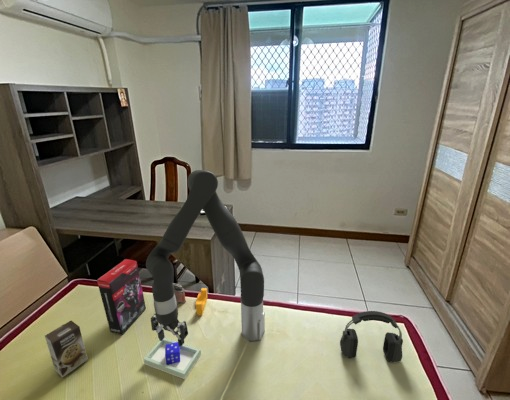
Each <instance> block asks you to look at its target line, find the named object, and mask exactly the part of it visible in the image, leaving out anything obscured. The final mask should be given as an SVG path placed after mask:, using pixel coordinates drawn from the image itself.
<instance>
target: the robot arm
mask: <svg viewBox="0 0 510 400" xmlns="http://www.w3.org/2000/svg"><path fill="white" fill-rule="evenodd" d="M186 182H187V188H188V189H189V193H188V196H187V198H186V199H185V201H184V203H183V205H182V207H181V208H180V209H179V211H178V212H177V214H175V216H174V218H173V219H172V220H171V221H170V223H169V225H168V226H167V228H166V230H165V232H164V233H163V235H162V238H161V240H160V241H159V242H158V243H157V244H156V245H155V246H154V248H153V249H152V250H151V251H150V253H149V254H148V256H147V257H146V261H145V267H146V269H147V271H148V273H150V275H151V276H152V279H153V283H152V285H151V291H152V297H153V307H154V314H153V315H152V316H150V324H151V325H150V326H151V330H152V331H155V333H157V338H158V339H159V341H162V340H163V339H164V338H166V337H165V332H164V331H168V332H170V333H171V334H172V335H173V336H175V337H176V338H177V342H178V345H179V346H180V347H181V346H182V345H183V344H185V339H186V337H187V336H188V335H189V329H188V325H187V322H186V320H183V322H180V320H179V319H178V316H179V312H178V311H179V309H178V303H177V302H176V297H175V293H174V287H173V283H174V279H175V278H174V277H175V270H174V265H173V263H172V262H171V260H170V259H169V257H170V256H171V255H172V253H173V254H174V253H175V254H176V253H178V252H179V251H180V249H181V248H182V246H183V245H184V242H185V241H186V239H187V236H188V234H189V233H190V231H191V228H192V227H193V225H194V223H195V222H196V221H197V219H198V217H199V215H200V214H201V212H202V210H203V212H204V214H205V216H206V219H207V220H208V222H209V225H210V226H211V228H212V230H213V232H214V234H215V236H216V238H217V239H218V241H219V243H220V244H221V245H222V247H223V248H224V249H225V250H226V251H227V252H228V253H229V254H230V255H231V256H232V257H233V259H234V261H235V263H236V266H237V268H238V271H239V278H240V279H239V280H240V317H241V320H240V321H241V334H242V338H244V339H246V341H249V342H250V341H251V342H255V341H261V340H262V338H263V335H264V333H265V331H266V330H265V328H266V327H265V326H266V324H265V323H266V321H265V320H266V319H265V316H266V315H265V312H264V296H265V277H264V273H263V272H264V271H263V268H262V266H261V264H260V263H259V262H258V259H256V256H255V255H254V254H253V253H252V251H251V249H250V247H249V245H248V243H247V239H246V238H245V235H244V233H243V231H242V229H241V227H240V225H239V223H238V221H237V220H236V218H235V216H233V214H232V213H231V212H230V210H229V209H228V208H227V207H226V206H225V204H224V203H223V202H222V200H221V199H220V197H219V195H218V193H217V189H218V186H219V181H218V177H217V176H216V174H215V173H213V172H211V171H209V170H204V169H196V170H193V171H192V172H191V173H190V174H189V175H188V177H187V181H186Z"/></svg>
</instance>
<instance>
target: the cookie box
mask: <svg viewBox="0 0 510 400" xmlns="http://www.w3.org/2000/svg"><path fill="white" fill-rule="evenodd" d="M81 332H82V331H81V328H80V325H78V324H77V323H76V322H74V321H73V320H69V321H67V322H65V323H64V324H62V325H61V326H59V327H57V328H56V329H54V330H52V331H50V332H49V333H47V334H45V335H44V338H45V341H46V344H47V348H48V351H49V355H50V358H51V362H52V365H53V369H54V370H55V371H56V372H57V373H58V375H59V376H60V377H62V378H64V377H65V376H67V375H68V374H69V373H71V372H72V371H75V369H77V368H78V367H79V366H81V365H82V364H84V363H85V362H87V361H88V355H87V350H86V347H85V344H84V343H85V342H84V339H83V336H82V335H83V334H82V333H81Z"/></svg>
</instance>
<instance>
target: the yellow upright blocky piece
mask: <svg viewBox="0 0 510 400" xmlns="http://www.w3.org/2000/svg"><path fill="white" fill-rule="evenodd" d="M207 301H208V288H207V287H201V289H200V292H199V293H198V295H197V297H196V301H195V309H196V310H195V311H196V316H203V314H204V312H203V311H205V308H206V304H207Z"/></svg>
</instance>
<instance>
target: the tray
mask: <svg viewBox="0 0 510 400" xmlns="http://www.w3.org/2000/svg"><path fill="white" fill-rule="evenodd" d="M175 342H177V341H176V340H173V339H170V338H166V337H164V339H163V340H162V341H160V340H159V341H158V342H157V343H156V344H155V345H154V346H153V347H152V348H151V350H150V351H149V352H148V353H147V354H146V355H145V356H144V358H143V363H144V365H146V366H148V367H151V368H153V369H156V370H159V371H162V372H164V373H165V374H166V373H167V374H170V375H172V376H175V377H177V378H180V379H183V380H186V378H187V377H188V376H189V374H190V372H191V371H192V369H193V368H194V366H195V364H196V363H197V362H198V360H199V358H200V357H201V355H202V350H201V349H200V348H197V347H195V346H192V345H189V344H185V343H184V344H183V345H182V346H181V347H180V346H179V347H180V362H177V363H173V364H169V365H166V358H165V345H166V344H171V343H175Z"/></svg>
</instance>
